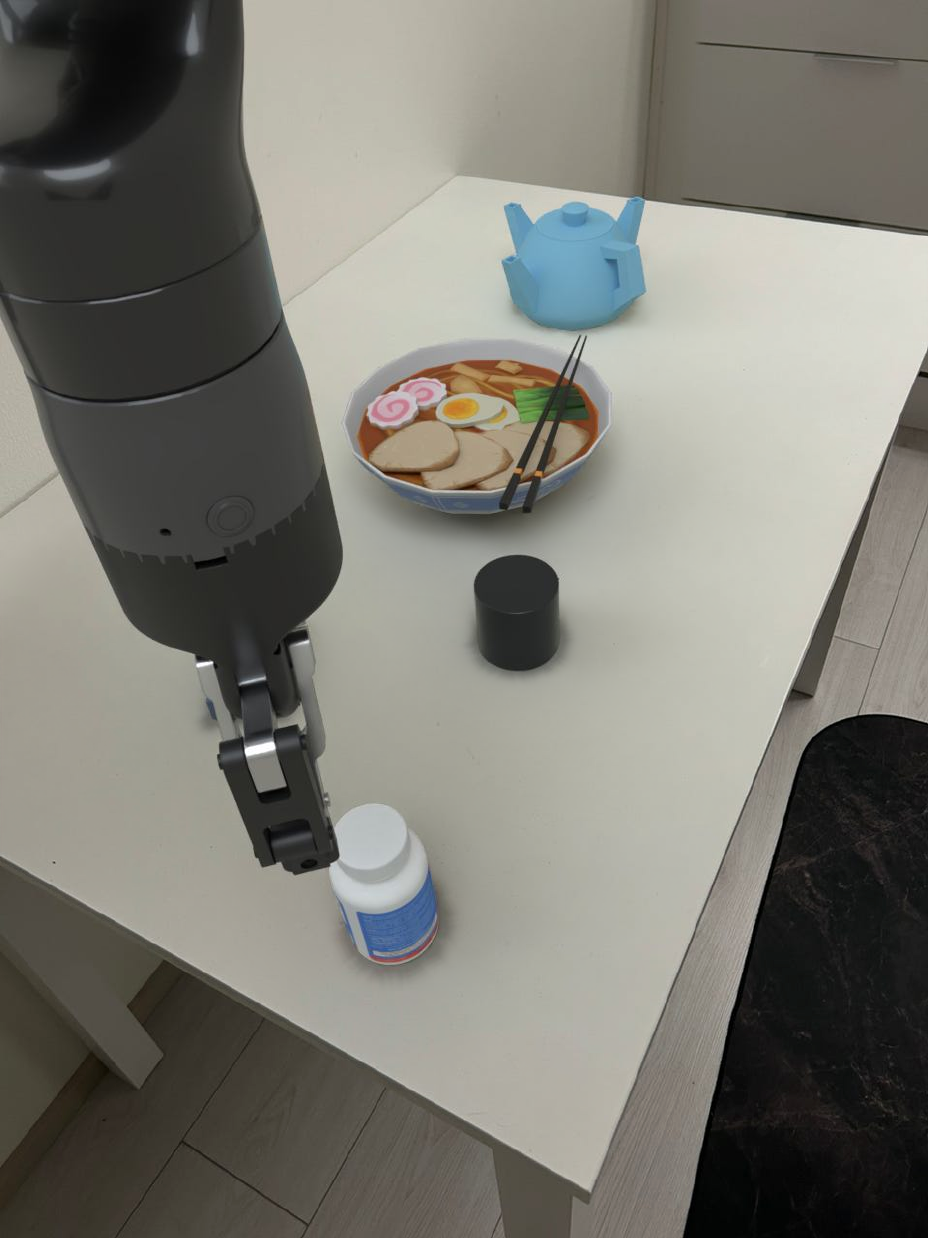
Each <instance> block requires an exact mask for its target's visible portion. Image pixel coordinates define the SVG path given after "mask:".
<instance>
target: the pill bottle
mask: <svg viewBox="0 0 928 1238" xmlns="http://www.w3.org/2000/svg"><path fill="white" fill-rule="evenodd" d="M334 831H335V834H336V838H337V842H338V848H339V854H340V857H339V859H338V860H337V861H335V862H333V863H331V864H330V865H331V867H328V875H329V882H330V884H331V887H332V892H333V894H334V897H335V899H336V902H337V906H338V908H339V911H340V913H341V916H342V919H343V922H344V924H345V927H346V930H347V933H348V936H349V938H350V940H351V943H352V944H353V946H354V947H355V949H356V950H357V951H358V953H360V954H361V955H362V956H363V957H364V958H366V960H368V961H370V962H373V963H375V964H379V965H383V966H396V965H397V966H398V965H402V964H406V963H408V962H411V961H413V960H414V959H416V958H418V957H419V956H421V955H422V954H423V953H424V952H425V951H427V949H428V948H429V947H430V946H431V944H432V943H433V941H434V940H435V937H436V935H437V933H438V928H439V921H440V915H439V907H438V902H437V897H436V893H435V887H434V884H433V877H432V873H431V869H430V868H431V867H430V862H429V858H428V854H427V851H426V848H425V846H424V844H423V842H422V840H421V839H420V837H419V836H418V835H417V833H416V832H415V831H414V830H412V829H411V828H409V826H407V822H406V820H405V819H404V817H403V816H402V814H401V813H400V812H399V811H398V810H396V809H395V808H394V807H392V806H389V805H386V804H383V803H373V802H372V803H370V802H369V803H365V804H360V805H359V806H355V807H353V808H351V809H350V810H348V811H347V812H345V814H343V815H342V816H341V817H340V819H339V820H338V821H337V823H336V824H335V826H334Z"/></svg>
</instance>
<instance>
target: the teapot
mask: <svg viewBox="0 0 928 1238" xmlns="http://www.w3.org/2000/svg"><path fill="white" fill-rule="evenodd" d="M645 204H646V199H645V198H642V197H640V196H634V197H632V198H629V199H626V203H625V205H624V207H623V209H622V210H621V212H620V214H619V216H618V218H617V220H615V218H614V217H613V216H612V215H610V213H608V212H606V211H604V210H602V209H599V208H596V207H595V208H594V207H590V206H589V204H587V203H585V202H583V201H582V202H581V201H570V202H567V203H564V204H563V205H562V206H561V208H556V209H553V210H551V211H550V210H549V211H548V212H546V213H544V214H542V215H541V216H540V217H538V218H537V219H536V221H535V222H534V223H533V221H532V220H531V218H530V217H529V215H528V213H526V211H525V210H524V208H523V207H522V204H520V203H516V202H513V201H512V202H509V203H507V204H505V205H503V210H504V214H505V217H506V218H505V219H506V221H507V225H508V229H509V233H510V235H511V240H512V244H513V246H514V250H515V254H516V255H515V254H510V255H509V256H506V257H505V258H503V259H501V265H502V268H503V272H504V275H505V279H506V282H507V285H508V289H509V294H510V297H511V300H512V303H513V304H514V305H515V306H516V307H517V308H518V309H519V310H520V311H521V313H523V314H524V315H525V316H526V317H527V318H529V320H531V321H532V322H534V323H536V324H538V325H540V326H543V327H546V328H549V329H554V330H560V331H561V330H562V331H581V330H589V329H594V328H598V327H601V326H604V325H607V324H608V323H609V324H610V322H613V321H615V320H616V319H617V318H619V317H620V316H621V315H622V314H624V312H625V311H626V310H627V309H628V308H629V307H630V306H631V305H632V304H633V303H634V302H635V300H637V299H638V298H640V297H641V296H642V295H644V294H646V293H647V288H646V281H645V275H644V268H643V263H642V256H641V249H640V246H639V244H636V243H637V240H638V235H639V232H640V231H639V230H640V226H641V222H642V218H643V213H644V208H645Z"/></svg>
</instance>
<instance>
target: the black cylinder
mask: <svg viewBox="0 0 928 1238" xmlns="http://www.w3.org/2000/svg"><path fill="white" fill-rule="evenodd" d="M474 577H475V578H474V580H473V595H474V606H475V616H476V617H475V618H476V619H475V620H476V631H477V642H478V647H479V651H480V653H481V654H482V656H483V657H484V658H485V659H486V661H488V662H489V663H490V664H492V665H494V666H496V667H497V668H500V669H503V670H507V671H515V672H516V671H517V672H520V671H521V672H523V671H528V670H533V669H537V668H538V667H541V666H543V665H544V664H546V663H548V661H550V659H552V658H553V656H555V654H556V653H557V650H558V647H559V645H560V580H559V577H558V574H557V572H556V571H555V569H554V568H553V567H552V566H551V565H550V564H549V563H547V562H546V561H545V560H542V559H540V558H538V557H535V556H531V555H526V554H508V555H504V556H500V557H497V558H494V559H493V560H490V561H489V562H487V563H486V564H485V565H483V566H482V567H481V568H480V569H479V570H478V572H477V573H476V576H474Z"/></svg>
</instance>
